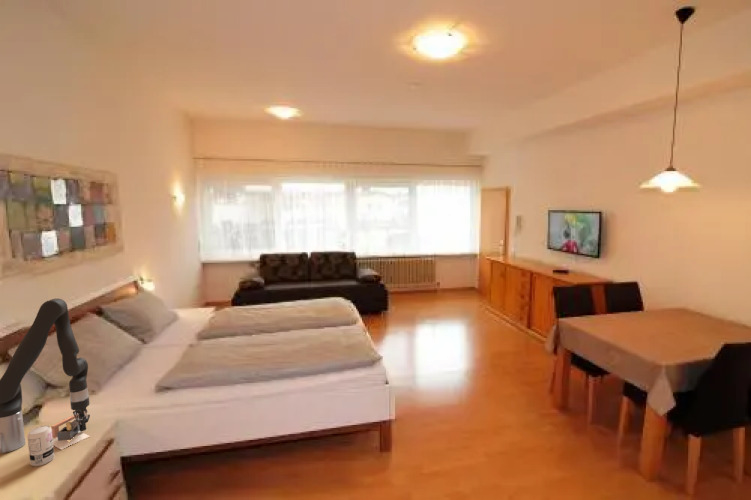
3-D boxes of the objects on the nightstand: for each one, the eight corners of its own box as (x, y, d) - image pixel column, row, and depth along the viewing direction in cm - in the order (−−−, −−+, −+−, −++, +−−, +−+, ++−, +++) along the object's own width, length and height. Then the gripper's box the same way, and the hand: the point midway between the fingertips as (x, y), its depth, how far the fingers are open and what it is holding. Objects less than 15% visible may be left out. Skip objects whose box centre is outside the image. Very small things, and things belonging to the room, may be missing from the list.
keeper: (55, 438, 190) (54, 426, 190) (52, 438, 191) (51, 425, 190) (75, 427, 200) (74, 416, 200) (73, 427, 201) (72, 415, 200)
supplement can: (29, 461, 172) (26, 430, 171) (53, 453, 179) (50, 422, 177) (31, 469, 167) (28, 437, 166) (55, 460, 173) (52, 429, 172)
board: (61, 450, 181) (61, 449, 181) (44, 440, 190) (44, 439, 189) (89, 437, 191) (89, 436, 191) (72, 428, 200) (72, 427, 200)
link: (70, 439, 189) (70, 431, 188) (57, 440, 188) (57, 433, 188) (85, 426, 201) (85, 418, 201) (73, 427, 200) (73, 419, 200)
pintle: (68, 439, 190) (67, 424, 189) (66, 438, 191) (65, 423, 190) (73, 437, 192) (71, 422, 191) (71, 436, 192) (70, 421, 192)
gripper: (64, 398, 194) (68, 430, 196) (77, 404, 188) (80, 437, 189) (81, 392, 201) (85, 423, 202) (94, 397, 194) (97, 429, 196)
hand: (83, 430), depth 196 cm, fingers closed
